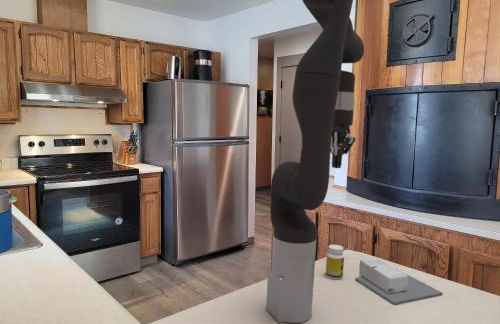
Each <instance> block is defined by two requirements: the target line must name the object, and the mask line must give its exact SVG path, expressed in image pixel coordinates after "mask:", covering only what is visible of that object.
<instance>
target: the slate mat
mask: <svg viewBox="0 0 500 324" xmlns="http://www.w3.org/2000/svg"><path fill="white" fill-rule="evenodd" d="M401 272H402V273H404V274H406V275H408V281H407V291H401V292H397V293H395V292H394V293H387V292H385V291H384V290H382V289H381V288H379V287H378V286H376V285H375V284H373V283H372V282H370V281H369V280H368V279H366V278H365V277H363V276H361V277H355V279H354V280H355V281H356V282H357V283H359V284H360V285H361V286H363V287H365V288H366V289H368V290H370V291H371V292H373V293H374V294H375V295H378V296H379V297H380V298H382V299H384V300H385V301H387V302H388V303H390V304H391V305H392V306H397V305H402V304H406V303H410V302H411V303H412V302H416V301H420V300H421V301H422V300H425V299H430V298H435V297H438V296H440V297H441V296H443V292H442V291H440V290H438V289H436V288H434V287H432V286H430V285H428V284H426V283H425V282H422V281H420V280H419V279H416V278H415V277H412V275H409V274H407V273H405V272H403V271H401Z"/></svg>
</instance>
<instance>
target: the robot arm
mask: <svg viewBox="0 0 500 324" xmlns="http://www.w3.org/2000/svg"><path fill="white" fill-rule="evenodd" d="M353 2H354V0H302V3H303V5H304V6H305V7H306V9H307V10H308V11H309V13H310V14H311V16H312V17H313V18H314V19H315V21H316V22H317V23H318V24H319V25H320V27H321V29H322V31H321V33H320V34H319V35H318V37H317V38H316V39H315V40H314V42H313V43H312V44H311V45H310V47H309V48H308V49H307V50H306V51H305V53H304V54H303V55H302V57H301V58H300V59H299V61H298V63H297V65H296V69H295V74H294V81H293V89H292V99H291V100H292V105H293V109H294V113H295V117H296V120H297V122H298V125H299V129H300V135H301V151H300V152H301V153H300V159H299V162H297V161H290V160H289V161H284V162H282V163H280V164H279V165H278V166H277V167H276V168H275V169H274V172H273V174H272V177H271V182H270V222H271V224H272V227H273V237H272V238H273V239H272V240H273V241H272V258H271V267H269V268H268V269H267V285H266V303H265V304H266V305H265V309H266V310H267V311H268V313H270V315H271V316H272V317H273V318H274V319H275V320H276V322H278V323H289V324H298V323H304V322H306V321H308V320H310V319H311V318H312V314H313V297H314V282H315V281H314V280H315V265H316V251H317V250H316V249H317V237H318V235H317V233H318V230H317V229H318V227H317V226H316V223H315V222H314V221H312V220H311V218H310V217H309V215H308V214H307V212H306V211H314V210H316V209H318V208H319V207H320V206H322V204H323V203H324V201H325V199H326V196H327V193H328V190H329V183H330V182H329V181H330V171H331V169H330V168H333V169H340V168H342V162H343V156H344V155H347V154H348V153H349V151H350V150H351V148H352V147H353V144H354V143H355V142H356V137H353V136H352V135H351V129H350V128H351V126H352V125H353V124H354V110H355V87H356V86H355V83H356V75H355V73H354V72H351V71H348V70H342V66H343V65H342V64H356V63H359V62H360V61H361V60H362V59H363V56H364V53H365V46H364V42H363V40H362V38H361V37H360V36H359V34H357V33H356V31H355V30H354V27H353V26H354V25H353V23H352V22H353V21H352V20H351V11H352V8H353Z"/></svg>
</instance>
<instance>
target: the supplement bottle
mask: <svg viewBox="0 0 500 324" xmlns="http://www.w3.org/2000/svg"><path fill="white" fill-rule="evenodd" d="M325 260H326V262H325V263H326V264H325V277H326V278H328V279H331V280H342V279H343V276H344V268H345V267H344V265H345V264H344V263H345V255H344V246H342V245H339V244H330V245H328V250H327V253H326V259H325Z"/></svg>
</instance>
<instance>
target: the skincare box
mask: <svg viewBox="0 0 500 324" xmlns="http://www.w3.org/2000/svg"><path fill="white" fill-rule="evenodd" d="M358 270H359V272H358V274H359V275H360V276H361V277H365V278H366V279H368V280H369V281H370V282H372V283H373V284H375V285H376V286H378V287H379V288H381V289H382V290H384V291H385V292H387V293H394V292H395V293H397V292H401V291H407V281H408V275H409V274H407V273H405V272H403V271H401V270H399V269H398V268H396V267H393V266H392V265H390V264H388V263H386V262H385V261H383V260H381V259H379V258H377V257H373V258H371V257H370V258H362V259H360V260H359V269H358ZM402 272H403V273H402ZM404 273H405V274H404ZM406 274H407V275H406Z"/></svg>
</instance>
